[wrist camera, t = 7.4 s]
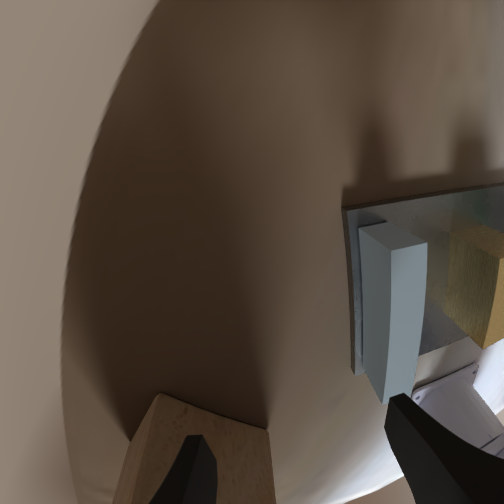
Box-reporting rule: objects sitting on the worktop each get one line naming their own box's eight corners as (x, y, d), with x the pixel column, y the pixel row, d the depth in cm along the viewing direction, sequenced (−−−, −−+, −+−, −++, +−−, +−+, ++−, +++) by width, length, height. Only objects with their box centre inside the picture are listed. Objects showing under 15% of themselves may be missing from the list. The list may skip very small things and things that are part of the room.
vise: (513, 305, 20) (544, 330, 15) (351, 367, 20) (372, 414, 16) (526, 179, 16) (568, 191, 11) (341, 207, 17) (377, 229, 12)
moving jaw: (388, 358, 19) (410, 395, 15) (362, 366, 19) (382, 405, 15) (389, 221, 16) (427, 242, 12) (358, 228, 16) (390, 251, 12)
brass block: (476, 299, 18) (515, 331, 13) (443, 312, 18) (482, 349, 13) (483, 224, 16) (532, 246, 11) (449, 233, 16) (499, 259, 12)
